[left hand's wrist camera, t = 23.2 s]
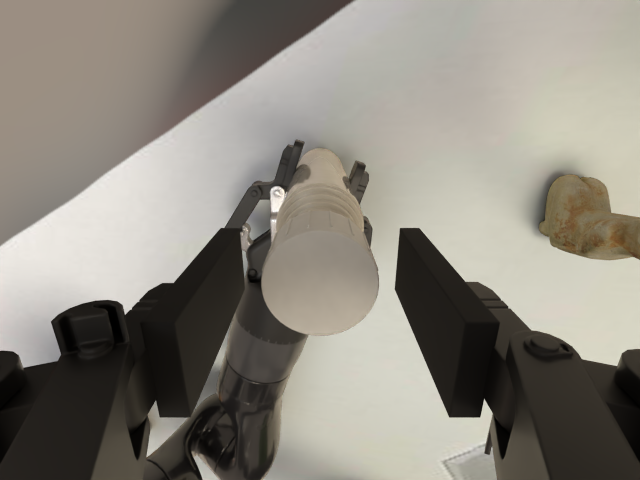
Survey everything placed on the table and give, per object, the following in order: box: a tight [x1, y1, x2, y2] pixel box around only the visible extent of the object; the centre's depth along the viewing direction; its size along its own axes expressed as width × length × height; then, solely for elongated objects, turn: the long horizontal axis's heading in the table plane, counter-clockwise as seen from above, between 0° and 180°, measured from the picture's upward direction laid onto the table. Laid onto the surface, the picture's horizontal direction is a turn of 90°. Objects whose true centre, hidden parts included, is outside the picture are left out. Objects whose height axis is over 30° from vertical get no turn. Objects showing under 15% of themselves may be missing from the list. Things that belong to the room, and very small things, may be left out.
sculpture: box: [539, 175, 640, 260], centre depth 29 cm, size 6×7×15 cm
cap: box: [261, 210, 379, 336], centre depth 13 cm, size 4×4×2 cm
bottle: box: [276, 148, 364, 232], centre depth 24 cm, size 5×5×24 cm
